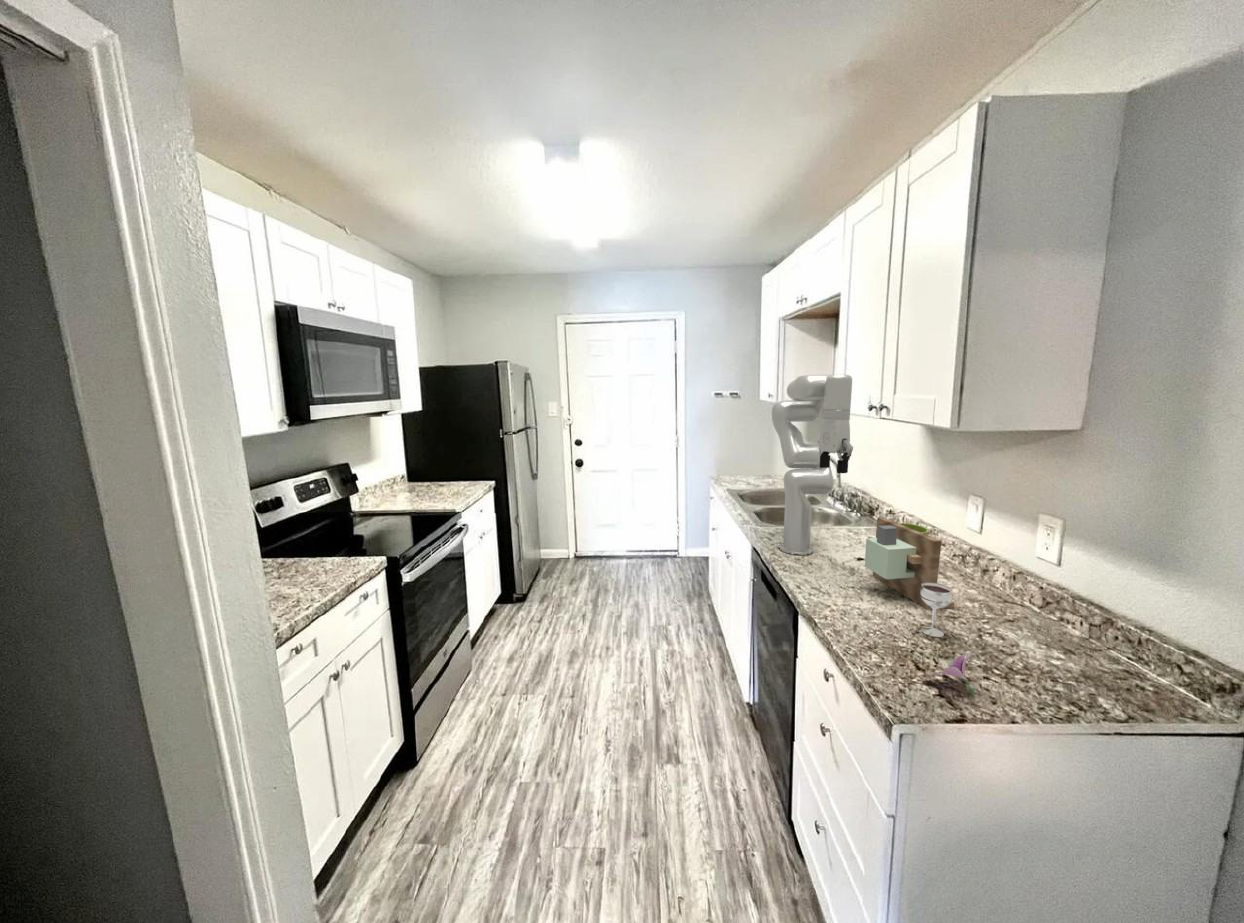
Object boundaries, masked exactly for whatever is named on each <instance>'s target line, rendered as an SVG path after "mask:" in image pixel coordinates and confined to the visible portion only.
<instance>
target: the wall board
mask: <svg viewBox="0 0 1244 923" xmlns="http://www.w3.org/2000/svg"><path fill="white" fill-rule="evenodd" d="M876 520H877V521H876V531H875V538H877V532H878V526H886V525H891V526H893V527H896V528H897V539H899V540H901V541H903V542H905V543H907V544H910V545H912V546H914V547H916V548H917V550H916V554H914V555H907V564H906V568H907V569H909V570H911V571H913V572H915V574H914V577H911V578H898V579H885V578H883V577H881V576H880V575H878V574H876V573H875V572H873V571H872V577H874V578H876V579H877V580H878V581H880V582H881V583H884V584H885V585H887V586H889V587H890V588H892V589H893V588H894V589H893V590H895V589H896V590H895V591H896V592H898V591H899V593H900V594H901V595H904V596H905V597H906V598H909V599H910V600H912V601H913V602H914V603H916V604H918V605H920V606H921V607H922V608H924V609H927V610H933V609H932V608H931V606H929V605H927V604H926V603H925V602H924V601H923V600H922V599H921V596H920V590H921V589H922V586H921V584H922V583H924V582H934V583H938V579H939V577H938V576H939V569H940V568H939V567H940V559H941V548H942V540H940V539H938V538H935V537H933V536H930V535H928V534H926V535H925V534H923V533H921V532H918V531H916V530H913V529H911V528H908V527H906V526H903V525H901V524H898V523H899V522H895V521H894V520H891V519H888V518H886V517H883V516H882V517H880V516H879V517H877V519H876ZM954 608H955V602H953V600H952V601H951V603H950V604H949V605H948V606H946V607H944V608H938V609H937V610H940V609H941V610H943V609H954Z"/></svg>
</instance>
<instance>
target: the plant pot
mask: <svg viewBox="0 0 1244 923" xmlns="http://www.w3.org/2000/svg"><path fill="white" fill-rule="evenodd" d="M897 523H898V524H901V525H903V526H906V527H908V528H911V529H913V530H916V531H918V532H921V533H923V534H925V535H927V534H928V533H929V529H928V528H927V527H925V526H922V525H918V524H915V523H906V522H897Z"/></svg>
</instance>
